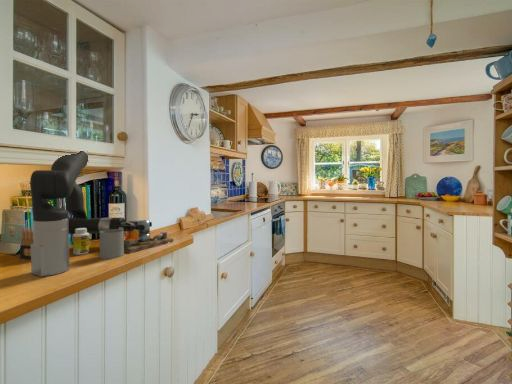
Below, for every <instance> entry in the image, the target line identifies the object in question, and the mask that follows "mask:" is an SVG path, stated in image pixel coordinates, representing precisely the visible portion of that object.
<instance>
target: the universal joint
mask: <svg viewBox="0 0 512 384" xmlns="http://www.w3.org/2000/svg"><path fill="white" fill-rule="evenodd" d="M137 221H138V225H145V230H137V233H138V234H137V239H138V242H150V238H151V236H150V230H151V228H150V222H151V221H150V220H148V219H146V220H145V219H142V220H137Z"/></svg>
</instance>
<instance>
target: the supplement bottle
mask: <svg viewBox="0 0 512 384" xmlns="http://www.w3.org/2000/svg"><path fill="white" fill-rule="evenodd" d="M89 252H90V233H87V228H77V229H75V234H72V253H73V255H75V256H79V255H80V256H81V255H86V254H88V253H89Z"/></svg>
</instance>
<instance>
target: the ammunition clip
mask: <svg viewBox="0 0 512 384" xmlns="http://www.w3.org/2000/svg"><path fill="white" fill-rule="evenodd" d="M20 238H21V239H20V240H21V244H20V247H19V248H20V249H19V252H20V254H19V255H20V259H22V260H23V259H24V260H31V244H34V235H33V227H31V226H30V228H29V227H26V228H25V226H22V229H21V237H20Z"/></svg>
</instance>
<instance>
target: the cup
mask: <svg viewBox="0 0 512 384" xmlns="http://www.w3.org/2000/svg"><path fill="white" fill-rule="evenodd" d="M124 233H125V232H124V230H122V229H110V230H103V231H100V233H99V258H100V259H103V260H112V259H118V258H121V257H123V256H125V252H124V239H125V234H124Z"/></svg>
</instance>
